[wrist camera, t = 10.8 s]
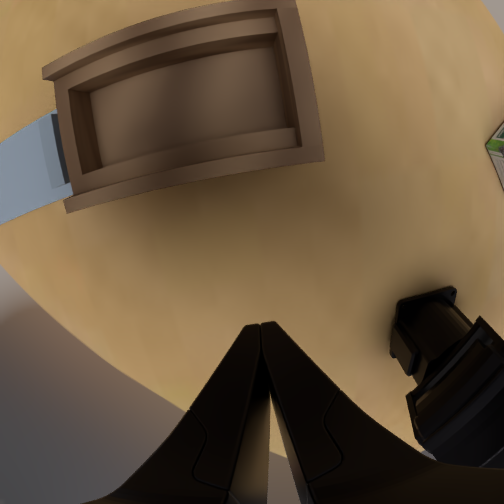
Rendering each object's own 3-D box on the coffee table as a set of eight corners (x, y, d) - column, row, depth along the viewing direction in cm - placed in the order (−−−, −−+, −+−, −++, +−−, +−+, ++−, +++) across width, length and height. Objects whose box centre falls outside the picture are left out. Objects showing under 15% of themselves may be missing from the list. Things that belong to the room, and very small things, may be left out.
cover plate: (83, 98, 16) (59, 95, 13) (101, 184, 18) (79, 193, 15) (-13, 155, 16) (-36, 161, 13) (3, 222, 19) (-19, 234, 16)
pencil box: (282, 24, 14) (293, -5, 10) (305, 154, 17) (325, 161, 13) (79, 76, 15) (42, 67, 10) (101, 195, 18) (66, 213, 14)
